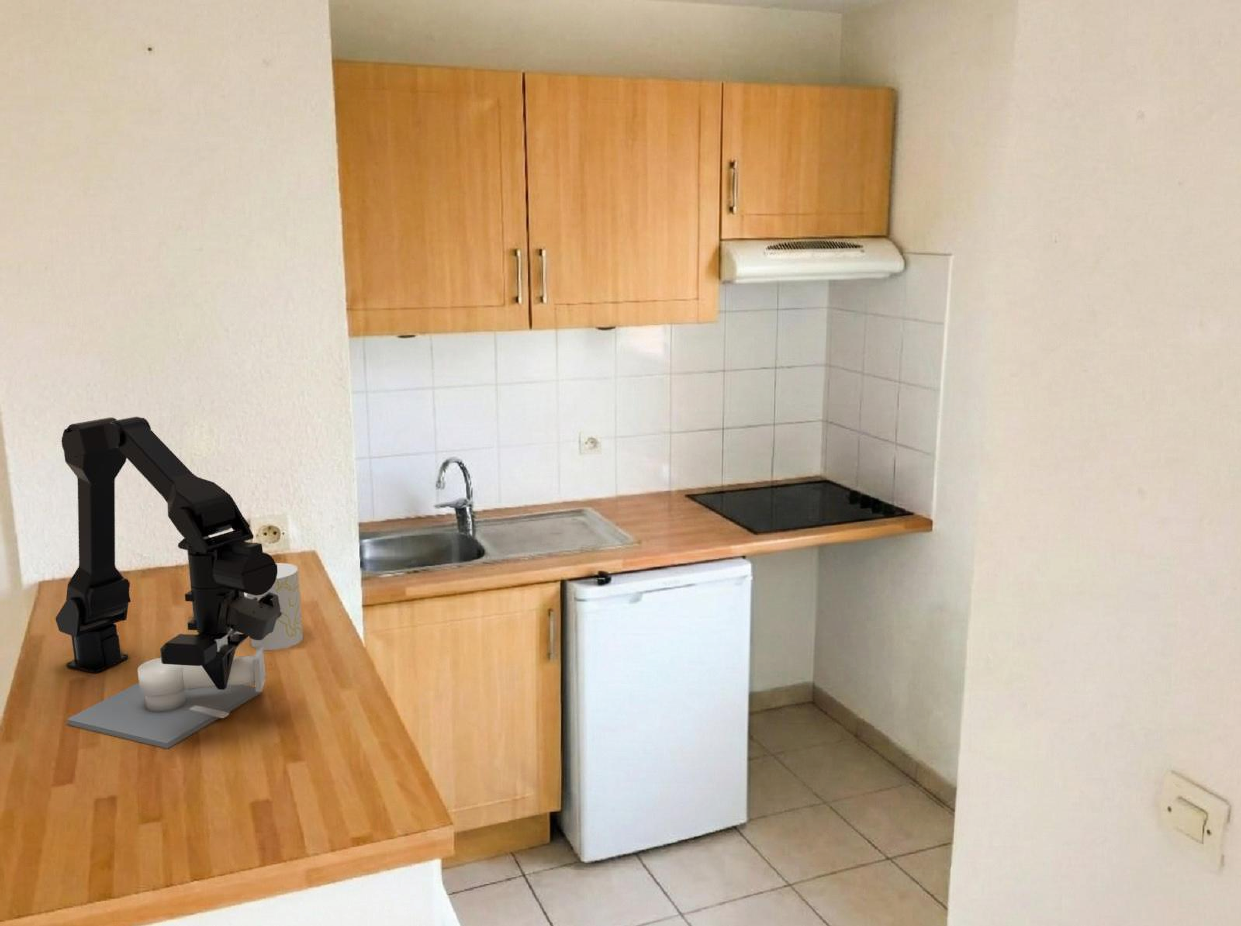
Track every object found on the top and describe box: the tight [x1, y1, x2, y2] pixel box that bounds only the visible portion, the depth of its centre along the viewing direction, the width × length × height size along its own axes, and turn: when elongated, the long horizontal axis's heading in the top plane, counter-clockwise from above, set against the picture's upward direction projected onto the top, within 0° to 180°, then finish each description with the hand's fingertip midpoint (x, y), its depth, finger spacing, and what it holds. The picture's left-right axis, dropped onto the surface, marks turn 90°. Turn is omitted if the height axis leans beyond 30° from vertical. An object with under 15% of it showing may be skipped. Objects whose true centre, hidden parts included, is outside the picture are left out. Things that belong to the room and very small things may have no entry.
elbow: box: [137, 647, 267, 696], centre depth 153 cm, size 17×6×5 cm, turn 102°
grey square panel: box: [66, 682, 261, 749], centre depth 154 cm, size 20×20×3 cm
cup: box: [247, 562, 304, 651], centre depth 176 cm, size 8×8×12 cm
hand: (222, 688), depth 151 cm, fingers closed
